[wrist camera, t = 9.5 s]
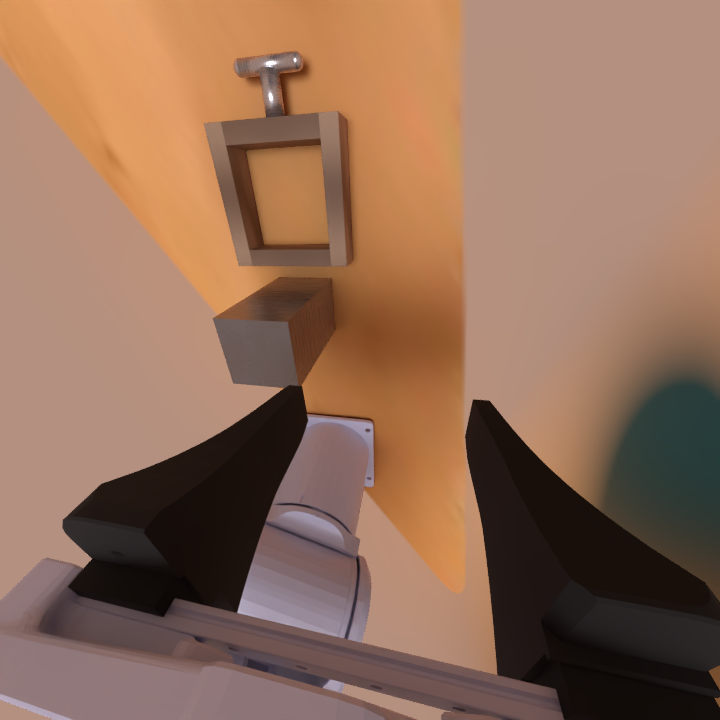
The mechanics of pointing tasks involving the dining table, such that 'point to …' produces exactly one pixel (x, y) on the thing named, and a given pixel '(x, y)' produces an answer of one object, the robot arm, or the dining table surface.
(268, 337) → the steel post
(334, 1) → the dining table surface
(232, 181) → the walnut clamp block
